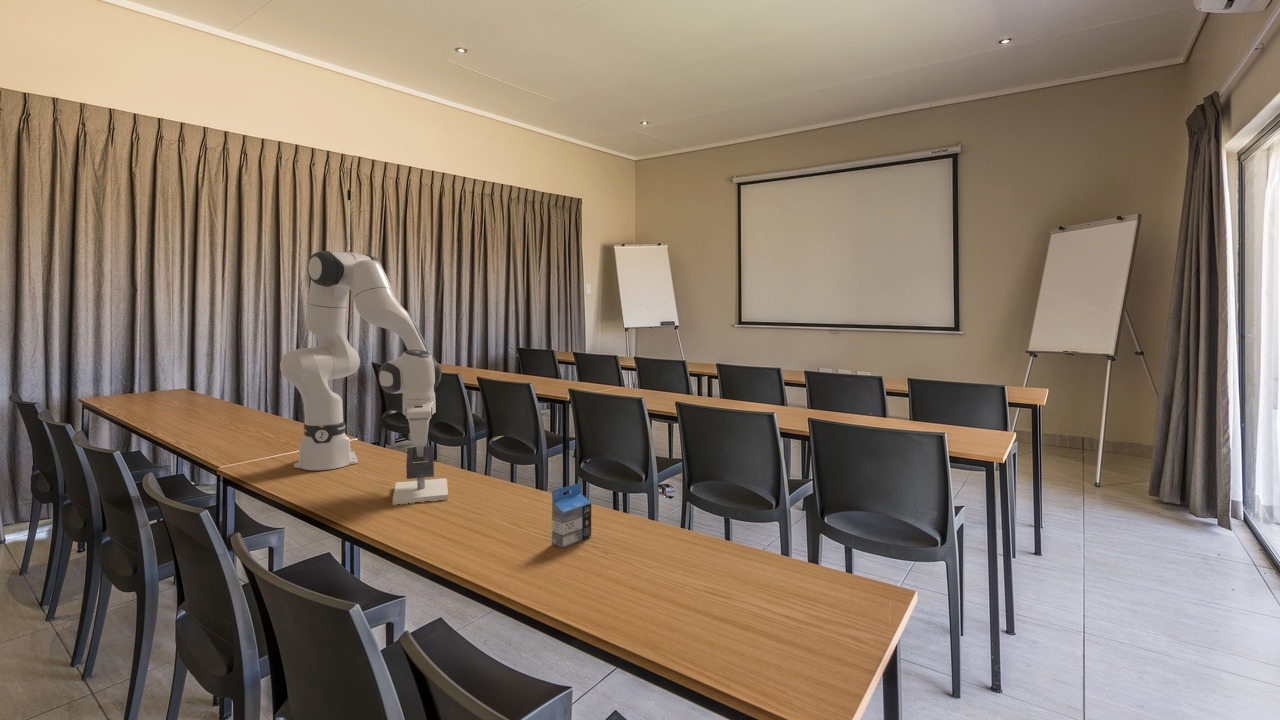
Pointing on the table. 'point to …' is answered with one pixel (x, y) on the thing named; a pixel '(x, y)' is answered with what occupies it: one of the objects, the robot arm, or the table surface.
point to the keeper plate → (420, 491)
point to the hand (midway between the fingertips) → (420, 454)
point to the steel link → (420, 463)
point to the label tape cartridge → (570, 516)
